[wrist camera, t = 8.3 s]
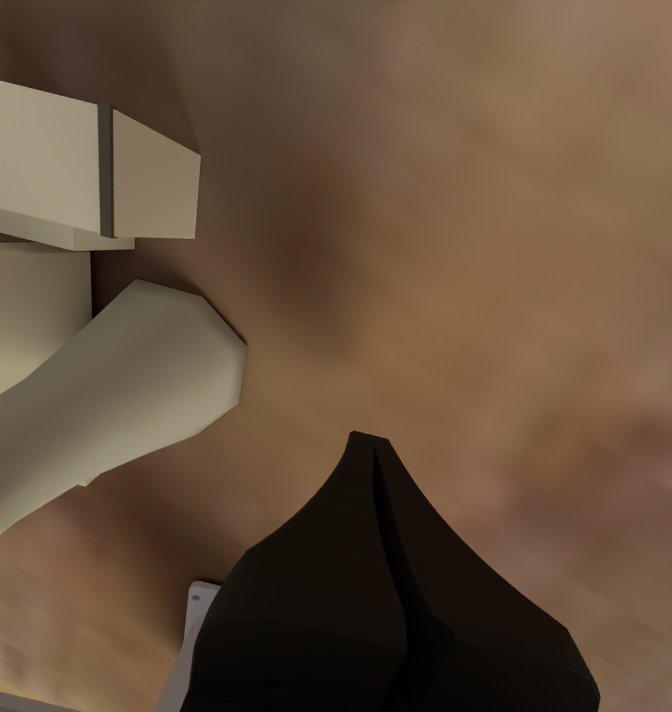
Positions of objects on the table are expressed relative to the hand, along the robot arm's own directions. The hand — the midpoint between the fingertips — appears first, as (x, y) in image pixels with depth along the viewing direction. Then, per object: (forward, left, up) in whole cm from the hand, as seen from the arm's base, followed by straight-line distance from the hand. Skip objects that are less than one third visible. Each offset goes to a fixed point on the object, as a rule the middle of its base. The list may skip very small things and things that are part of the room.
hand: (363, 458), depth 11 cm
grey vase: (0, +9, -4) cm, 10 cm away
